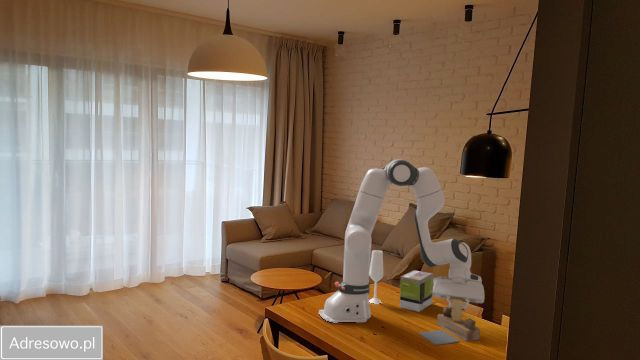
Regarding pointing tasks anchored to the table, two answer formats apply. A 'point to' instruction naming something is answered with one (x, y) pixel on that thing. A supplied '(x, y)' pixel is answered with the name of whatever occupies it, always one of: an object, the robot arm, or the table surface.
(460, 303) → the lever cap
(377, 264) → the champagne flute
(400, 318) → the table surface
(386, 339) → the table surface
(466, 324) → the plane body
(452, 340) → the rubber mat
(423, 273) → the tea box
